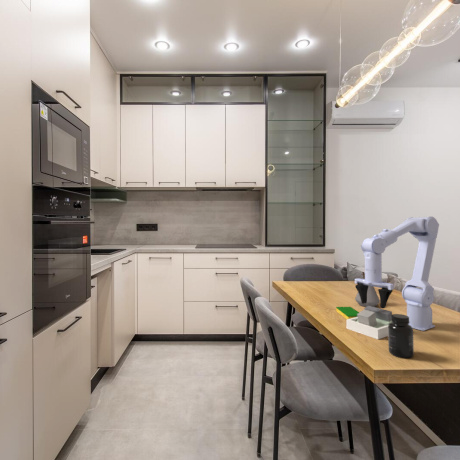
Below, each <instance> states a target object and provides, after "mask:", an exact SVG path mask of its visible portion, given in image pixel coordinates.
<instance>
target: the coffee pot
mask: <svg viewBox="0 0 460 460" xmlns="http://www.w3.org/2000/svg"><path fill="white" fill-rule="evenodd" d="M361 274H362V279H365V271H362V272H361ZM354 300H355V302H357V304H358V305H359V306H361V307H365V308H366V307H367V306H372V307H376V306H379V305H380V296H379V295H378V294H377V291H376V288H375V287H373V286H368V291H367V303H364V304H362V302H361V298H360V295H359V293H358V292H357V294H356V296H355V299H354Z"/></svg>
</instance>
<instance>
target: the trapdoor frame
mask: <svg viewBox="0 0 460 460" xmlns="http://www.w3.org/2000/svg"><path fill="white" fill-rule="evenodd" d="M357 320H358V317H355V318H351V319H346V320H345V321H346V329H347V330H350V331H353V332H355V333H359V334H362V335H364V336H367V337H370V338H373V339H376V340H381V339H383V338H386V337H387V338H388V325H386V326H383V327H380V328H374V327H371V326H368V325H365V324H362V323H358V322H356V321H357Z"/></svg>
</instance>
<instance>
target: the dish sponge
mask: <svg viewBox="0 0 460 460" xmlns="http://www.w3.org/2000/svg"><path fill="white" fill-rule="evenodd" d="M335 308H336V309H335V311H336V312H337V313H338V314H339V315H341V316H342V317H343V318H344V319H346V320H347V319H351V318H355V317H357V314H358V313H360V312H359V311H358V310H357V309H355V308H353V307H351V306H336V307H335Z"/></svg>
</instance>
